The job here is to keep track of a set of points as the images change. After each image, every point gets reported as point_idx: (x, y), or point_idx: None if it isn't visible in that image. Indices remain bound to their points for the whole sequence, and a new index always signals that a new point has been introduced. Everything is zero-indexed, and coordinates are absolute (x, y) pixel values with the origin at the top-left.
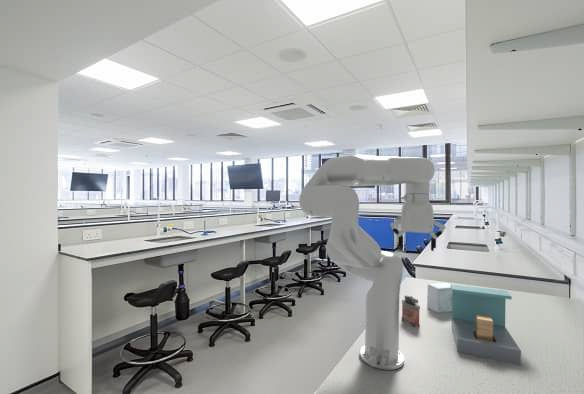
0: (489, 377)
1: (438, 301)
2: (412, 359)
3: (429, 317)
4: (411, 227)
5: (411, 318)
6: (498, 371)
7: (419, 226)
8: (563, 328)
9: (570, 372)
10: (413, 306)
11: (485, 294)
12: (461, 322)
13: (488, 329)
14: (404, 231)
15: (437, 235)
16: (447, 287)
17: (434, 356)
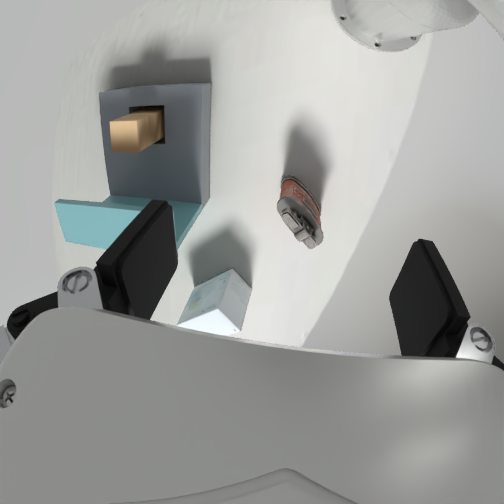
0: (171, 14)
1: (224, 285)
2: (313, 17)
3: (252, 240)
4: (412, 436)
5: (300, 191)
6: (151, 42)
7: (214, 461)
8: (65, 253)
9: (65, 104)
10: (295, 201)
11: (96, 204)
12: (183, 185)
13: (129, 116)
14: (477, 361)
15: (54, 303)
16: (197, 318)
17: (263, 43)
